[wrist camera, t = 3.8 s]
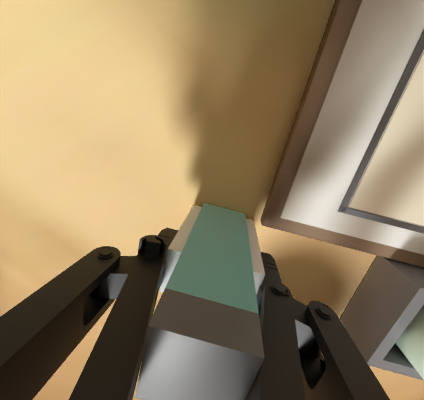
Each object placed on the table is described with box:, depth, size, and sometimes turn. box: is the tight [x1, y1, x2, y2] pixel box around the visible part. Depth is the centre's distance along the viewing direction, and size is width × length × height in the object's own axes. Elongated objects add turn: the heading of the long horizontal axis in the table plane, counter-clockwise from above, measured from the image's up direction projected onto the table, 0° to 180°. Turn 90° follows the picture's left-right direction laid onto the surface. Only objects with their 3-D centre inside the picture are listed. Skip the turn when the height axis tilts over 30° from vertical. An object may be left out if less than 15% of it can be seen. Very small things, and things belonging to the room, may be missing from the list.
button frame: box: [340, 255, 424, 380], centre depth 15 cm, size 7×7×4 cm
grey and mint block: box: [135, 203, 264, 400], centre depth 12 cm, size 3×3×11 cm
